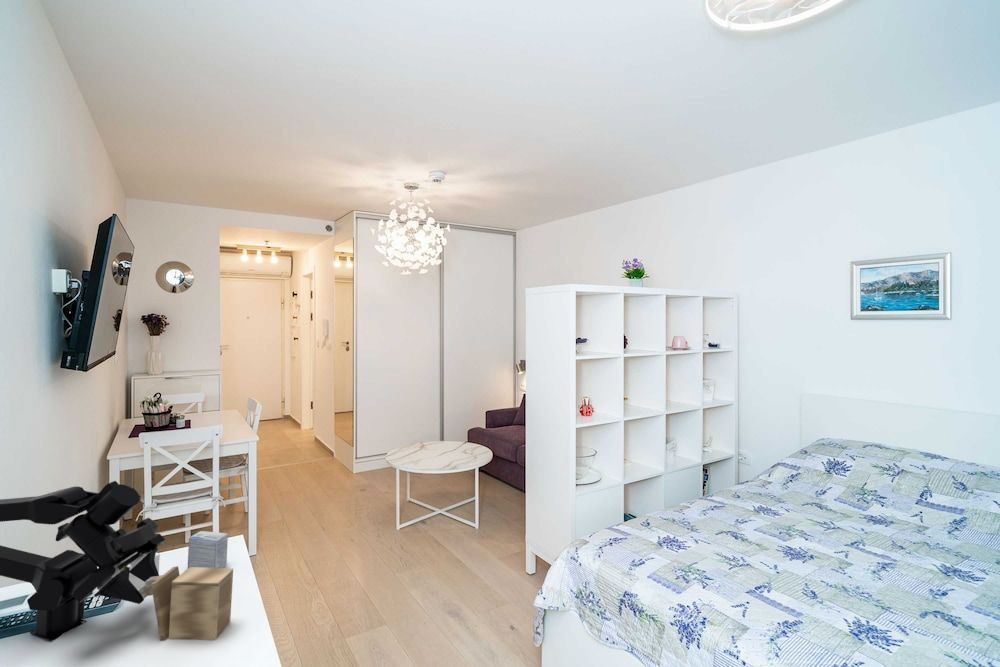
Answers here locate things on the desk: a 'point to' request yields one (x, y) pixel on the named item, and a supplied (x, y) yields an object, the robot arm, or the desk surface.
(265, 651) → the desk surface
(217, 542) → the medicine box
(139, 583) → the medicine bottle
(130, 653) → the desk surface
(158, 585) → the flap
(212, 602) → the carton
